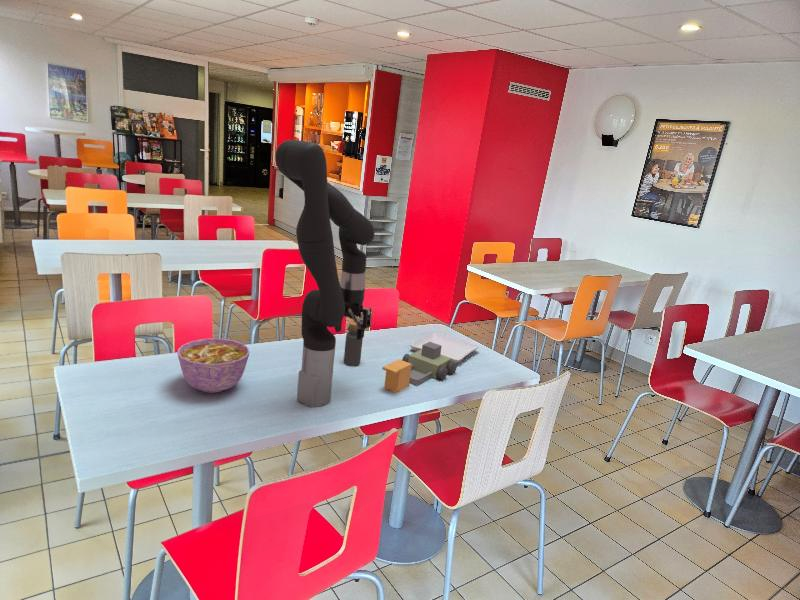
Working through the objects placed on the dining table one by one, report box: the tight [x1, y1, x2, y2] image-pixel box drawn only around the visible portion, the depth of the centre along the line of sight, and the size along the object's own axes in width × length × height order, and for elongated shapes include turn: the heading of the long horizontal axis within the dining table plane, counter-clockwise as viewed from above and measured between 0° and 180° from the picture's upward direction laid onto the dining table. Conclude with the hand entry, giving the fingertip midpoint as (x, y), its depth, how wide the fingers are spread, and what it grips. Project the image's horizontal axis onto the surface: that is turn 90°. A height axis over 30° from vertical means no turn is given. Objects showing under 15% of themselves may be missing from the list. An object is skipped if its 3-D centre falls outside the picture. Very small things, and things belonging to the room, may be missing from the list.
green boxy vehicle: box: [401, 342, 458, 387], centre depth 186 cm, size 20×16×9 cm
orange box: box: [381, 359, 412, 393], centre depth 172 cm, size 10×5×8 cm, turn 146°
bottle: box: [343, 320, 364, 367], centre depth 186 cm, size 6×6×15 cm
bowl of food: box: [177, 338, 251, 394], centre depth 157 cm, size 20×20×12 cm
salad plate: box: [409, 331, 480, 364], centre depth 209 cm, size 21×21×3 cm
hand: (348, 335), depth 165 cm, fingers open, 8 cm apart
